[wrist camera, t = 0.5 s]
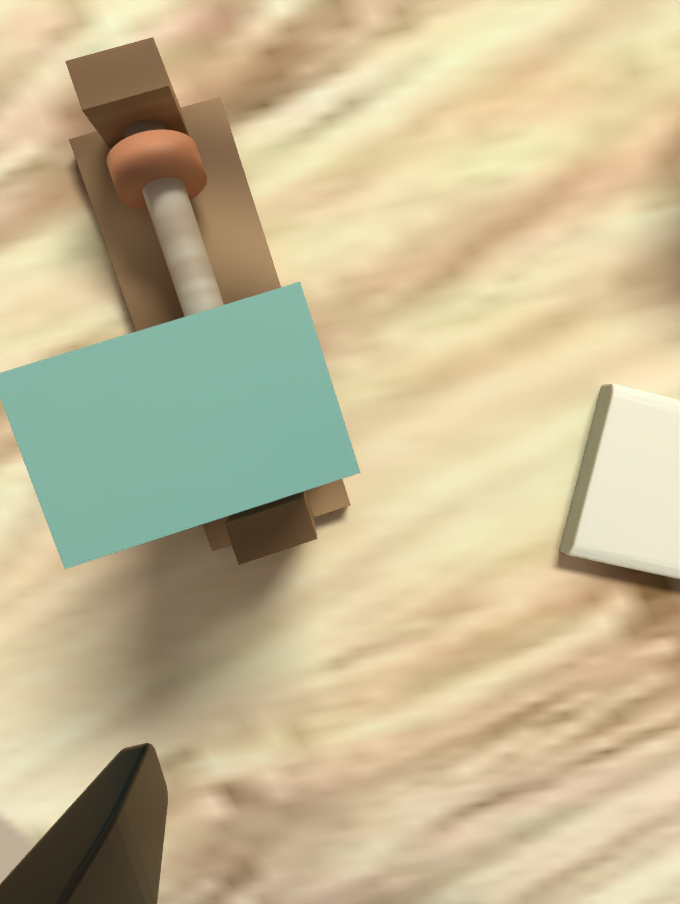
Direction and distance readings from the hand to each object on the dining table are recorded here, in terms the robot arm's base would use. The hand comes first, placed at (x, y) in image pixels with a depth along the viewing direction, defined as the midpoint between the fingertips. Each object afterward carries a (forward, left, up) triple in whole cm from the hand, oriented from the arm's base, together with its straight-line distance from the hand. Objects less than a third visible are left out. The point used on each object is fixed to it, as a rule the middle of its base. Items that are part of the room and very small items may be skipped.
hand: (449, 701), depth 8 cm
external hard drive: (-2, -17, -17) cm, 24 cm away
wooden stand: (+9, +5, -16) cm, 19 cm away
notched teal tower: (+5, +4, -15) cm, 16 cm away
